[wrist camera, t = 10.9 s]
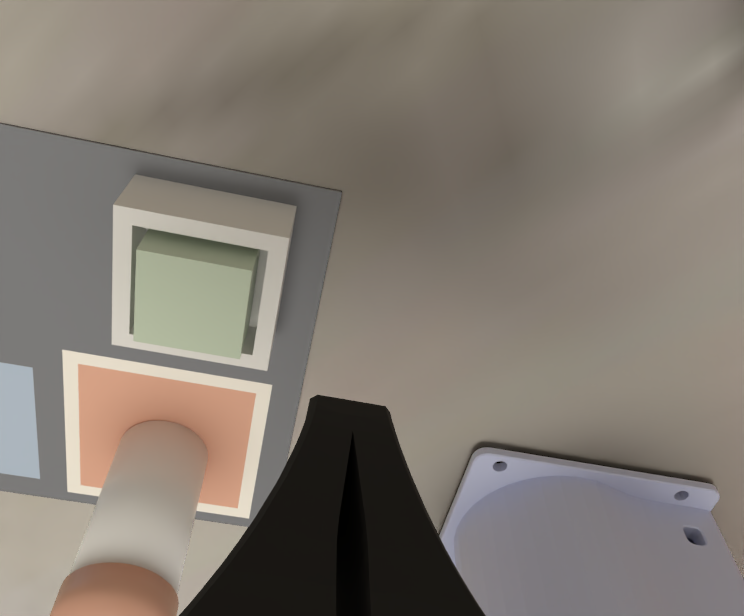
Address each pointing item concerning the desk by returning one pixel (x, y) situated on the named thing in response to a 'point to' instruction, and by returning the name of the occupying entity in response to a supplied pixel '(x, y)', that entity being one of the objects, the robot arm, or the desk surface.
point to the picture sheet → (123, 364)
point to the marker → (139, 527)
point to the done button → (193, 293)
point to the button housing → (212, 222)
